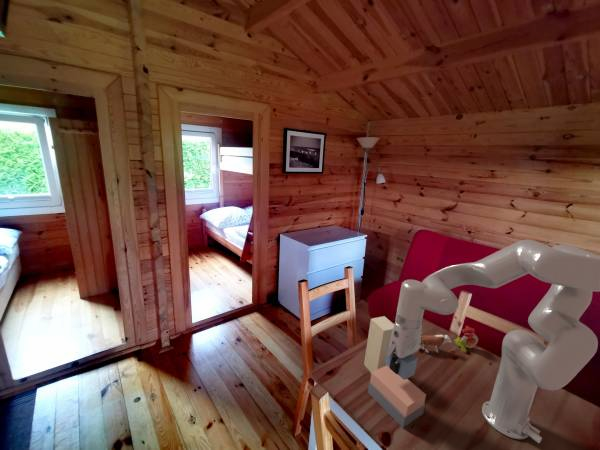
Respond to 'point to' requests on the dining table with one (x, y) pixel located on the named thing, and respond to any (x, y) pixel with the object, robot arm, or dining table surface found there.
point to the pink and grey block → (396, 395)
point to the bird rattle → (467, 339)
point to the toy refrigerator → (378, 343)
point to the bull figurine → (434, 341)
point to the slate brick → (404, 365)
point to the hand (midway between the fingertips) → (399, 367)
